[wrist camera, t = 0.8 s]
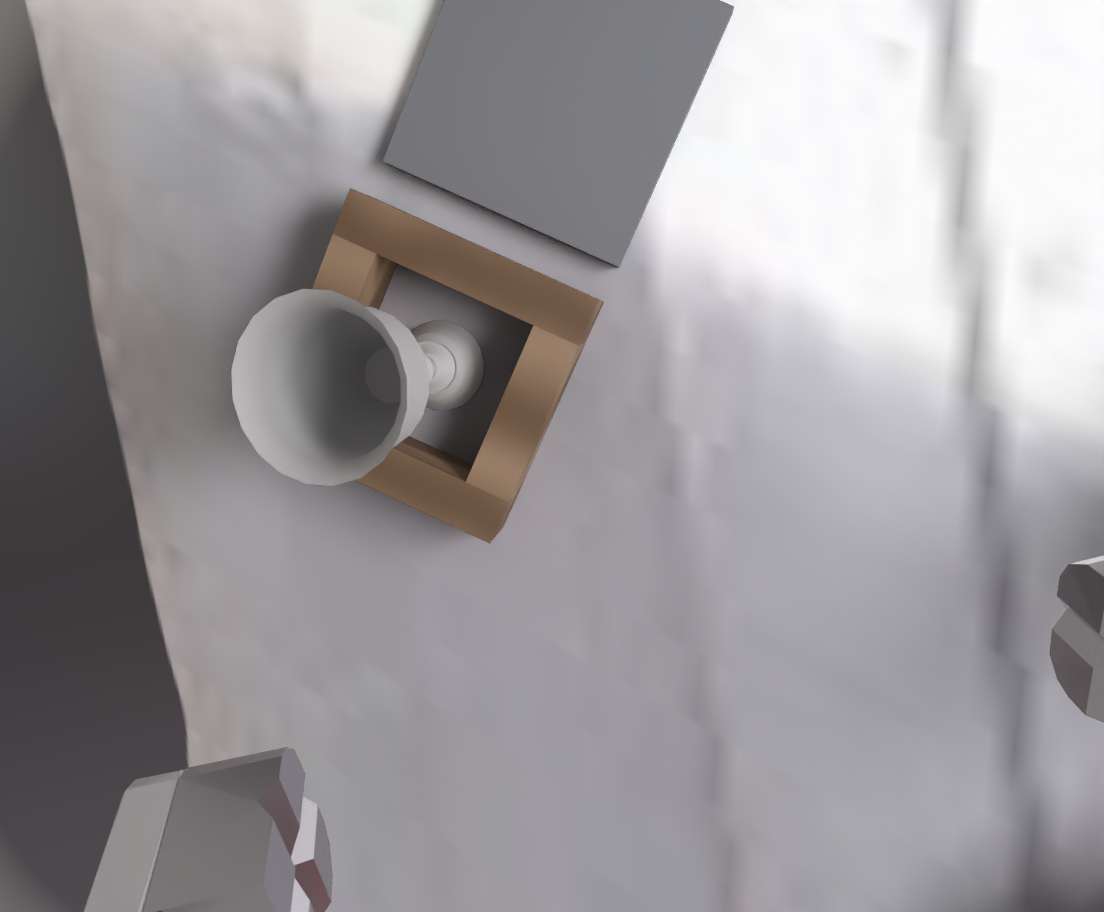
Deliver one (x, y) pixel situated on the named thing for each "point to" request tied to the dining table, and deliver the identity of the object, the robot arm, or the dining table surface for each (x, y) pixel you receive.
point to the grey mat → (557, 108)
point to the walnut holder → (533, 390)
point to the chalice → (343, 382)
